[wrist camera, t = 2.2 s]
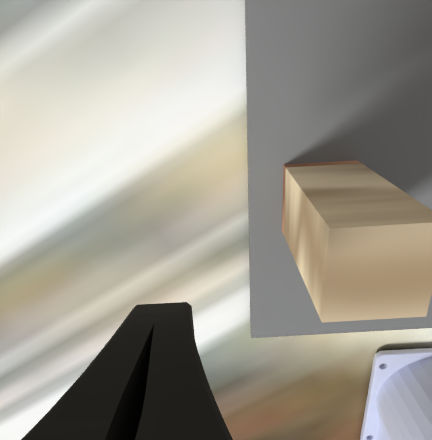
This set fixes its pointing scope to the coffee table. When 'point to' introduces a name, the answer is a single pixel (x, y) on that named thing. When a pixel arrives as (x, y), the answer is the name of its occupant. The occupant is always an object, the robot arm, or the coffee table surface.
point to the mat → (330, 128)
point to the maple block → (357, 242)
